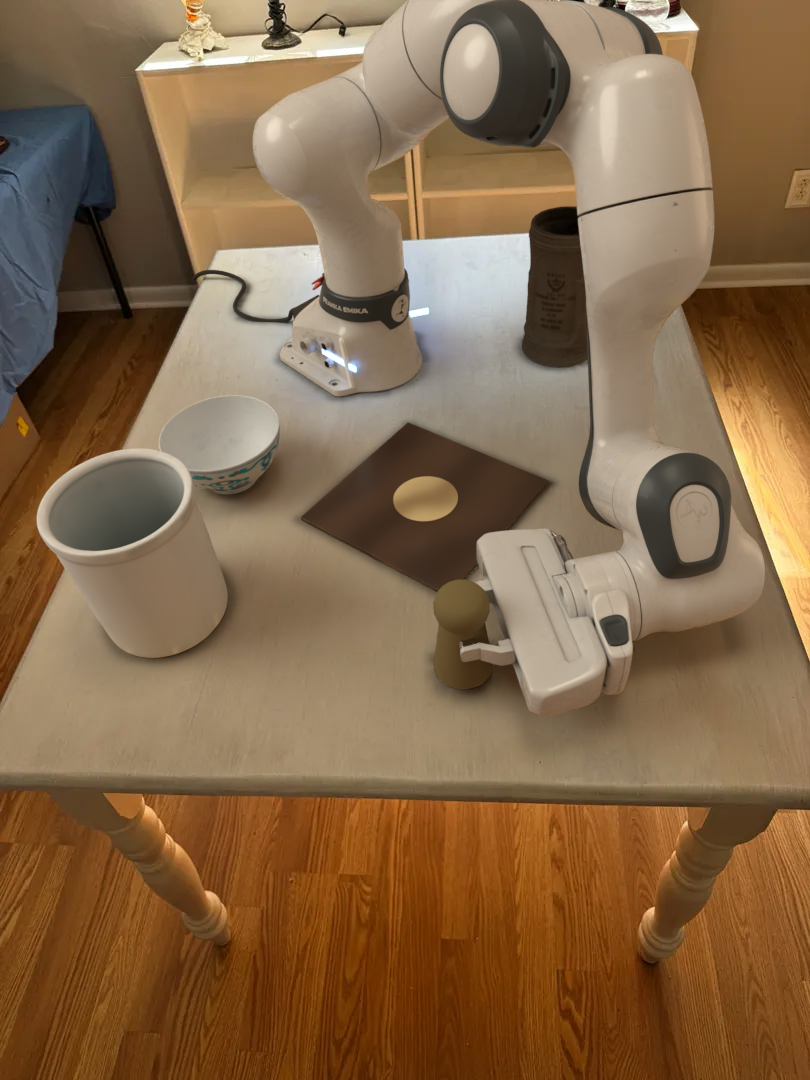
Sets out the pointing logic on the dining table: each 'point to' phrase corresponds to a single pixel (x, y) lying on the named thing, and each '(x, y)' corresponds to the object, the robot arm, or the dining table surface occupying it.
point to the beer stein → (556, 291)
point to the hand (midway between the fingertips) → (453, 629)
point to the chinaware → (223, 441)
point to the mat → (425, 505)
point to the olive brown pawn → (460, 633)
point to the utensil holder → (137, 549)
